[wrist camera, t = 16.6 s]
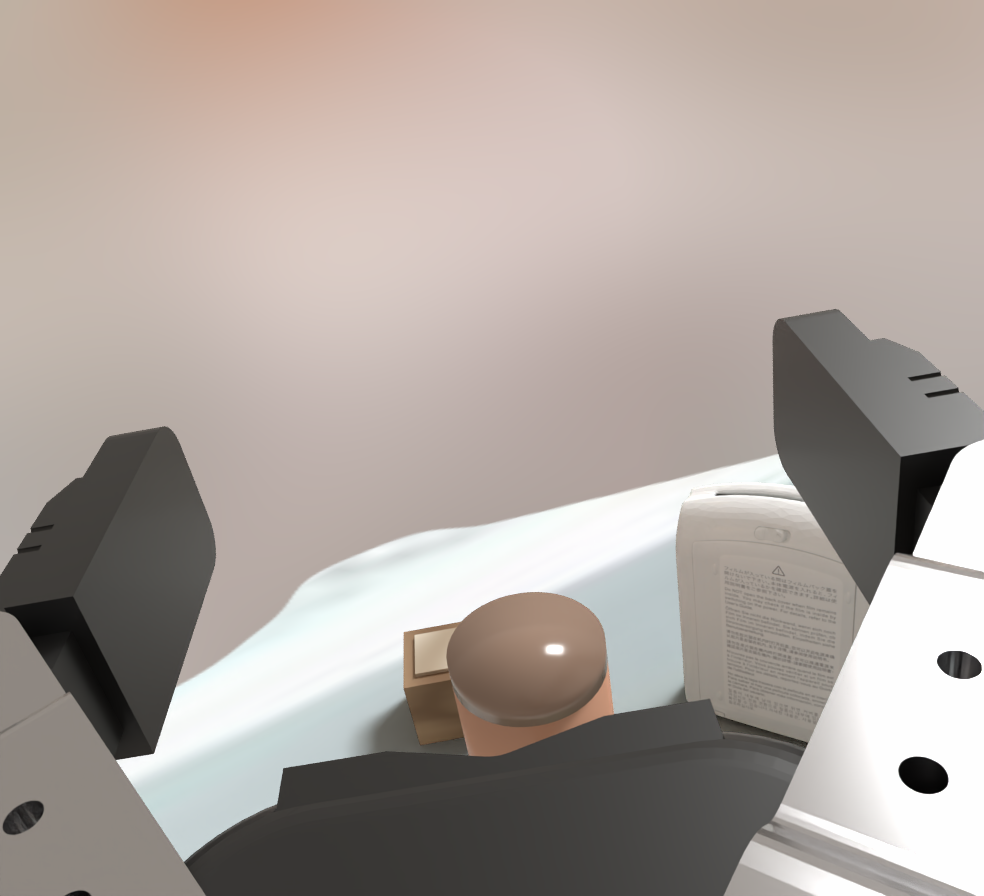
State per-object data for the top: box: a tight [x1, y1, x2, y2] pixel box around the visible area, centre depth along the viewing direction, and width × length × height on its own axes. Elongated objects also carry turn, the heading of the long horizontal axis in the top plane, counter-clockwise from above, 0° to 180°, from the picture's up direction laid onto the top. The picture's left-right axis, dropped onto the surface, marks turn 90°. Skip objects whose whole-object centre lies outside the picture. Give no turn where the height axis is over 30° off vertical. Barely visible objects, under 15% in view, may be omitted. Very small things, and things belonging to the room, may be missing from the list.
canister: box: [446, 592, 614, 757], centre depth 36 cm, size 6×6×12 cm
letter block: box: [404, 622, 464, 745], centre depth 47 cm, size 4×4×4 cm
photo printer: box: [676, 483, 870, 743], centre depth 41 cm, size 10×4×12 cm, turn 60°
